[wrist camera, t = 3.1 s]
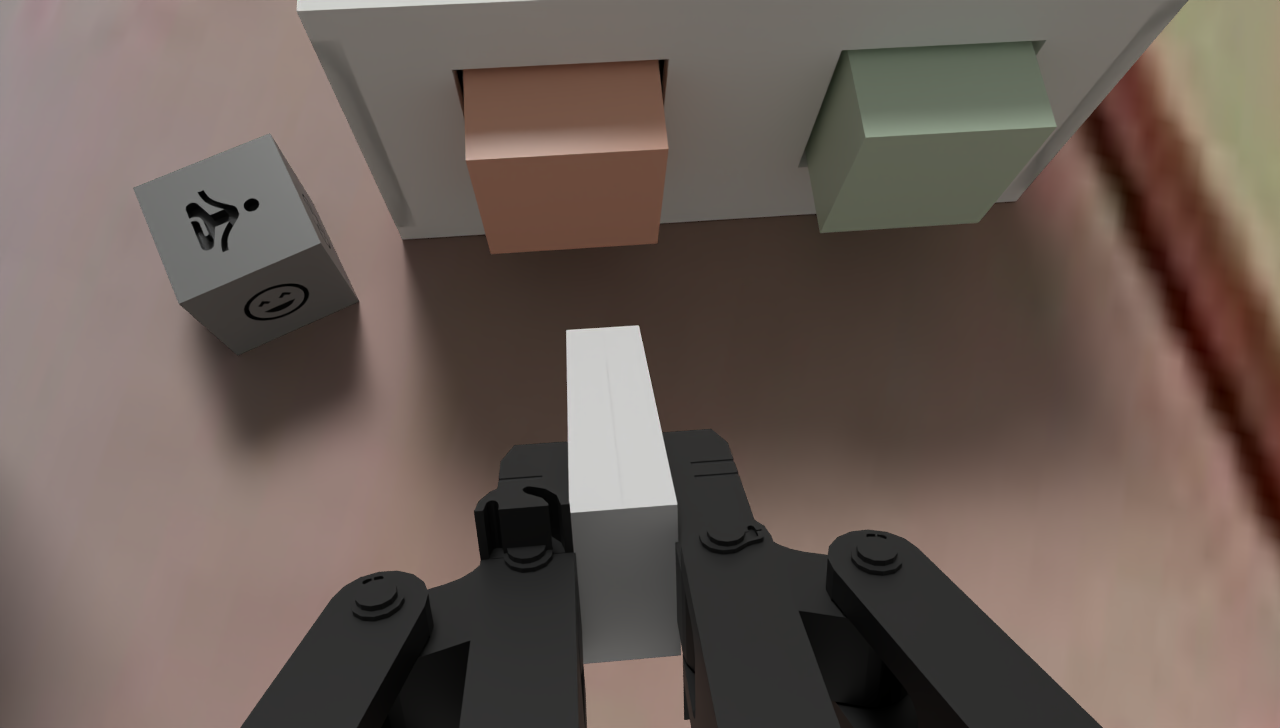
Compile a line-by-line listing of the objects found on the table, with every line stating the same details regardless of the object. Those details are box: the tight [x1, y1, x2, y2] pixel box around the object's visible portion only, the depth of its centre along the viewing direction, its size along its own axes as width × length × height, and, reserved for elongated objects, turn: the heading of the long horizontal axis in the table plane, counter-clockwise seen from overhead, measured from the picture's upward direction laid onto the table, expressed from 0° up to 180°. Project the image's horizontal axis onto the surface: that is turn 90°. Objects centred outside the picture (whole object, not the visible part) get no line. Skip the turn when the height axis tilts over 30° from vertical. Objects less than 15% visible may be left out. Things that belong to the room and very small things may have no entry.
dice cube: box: [133, 133, 359, 355], centre depth 33 cm, size 5×5×5 cm
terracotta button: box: [463, 60, 669, 254], centre depth 30 cm, size 6×7×6 cm
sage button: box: [805, 41, 1057, 233], centre depth 31 cm, size 6×7×6 cm
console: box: [297, 0, 1188, 240], centre depth 32 cm, size 26×10×13 cm, turn 95°
